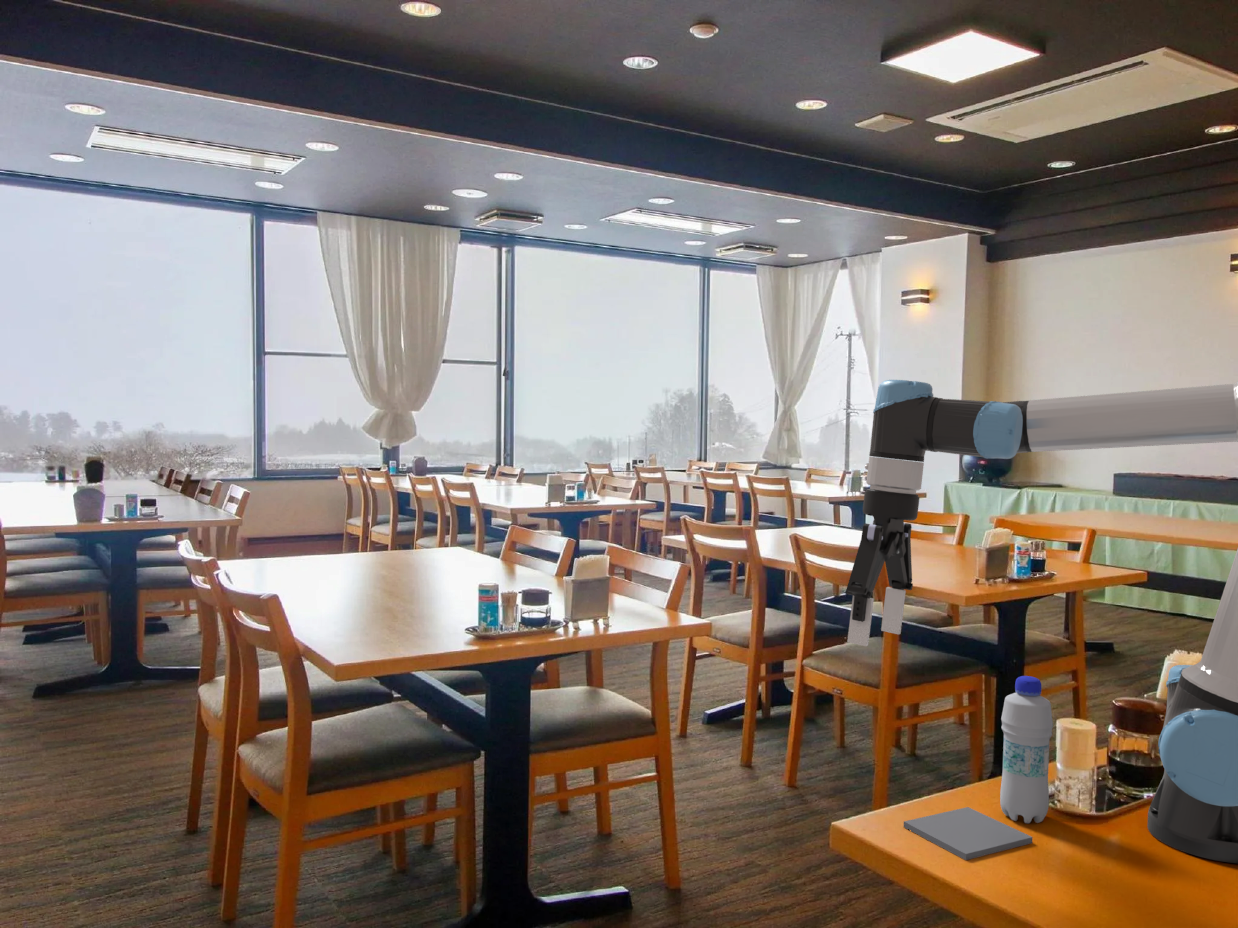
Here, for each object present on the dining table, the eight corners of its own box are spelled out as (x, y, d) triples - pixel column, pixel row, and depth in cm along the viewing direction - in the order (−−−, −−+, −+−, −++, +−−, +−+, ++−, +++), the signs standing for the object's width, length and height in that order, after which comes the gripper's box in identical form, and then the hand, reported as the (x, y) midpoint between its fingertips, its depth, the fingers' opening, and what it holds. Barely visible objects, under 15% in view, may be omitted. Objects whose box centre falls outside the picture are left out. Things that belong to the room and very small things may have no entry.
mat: (1032, 842, 127) (1032, 836, 127) (965, 860, 122) (965, 853, 122) (967, 812, 137) (967, 806, 137) (903, 826, 132) (903, 821, 132)
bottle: (1054, 829, 132) (1060, 684, 131) (1002, 824, 133) (1007, 680, 133) (1043, 810, 139) (1048, 671, 138) (994, 805, 140) (998, 668, 139)
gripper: (895, 487, 149) (879, 622, 150) (834, 485, 129) (815, 643, 129) (944, 493, 145) (927, 633, 146) (889, 493, 124) (869, 655, 125)
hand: (874, 638), depth 138 cm, fingers open, 13 cm apart
